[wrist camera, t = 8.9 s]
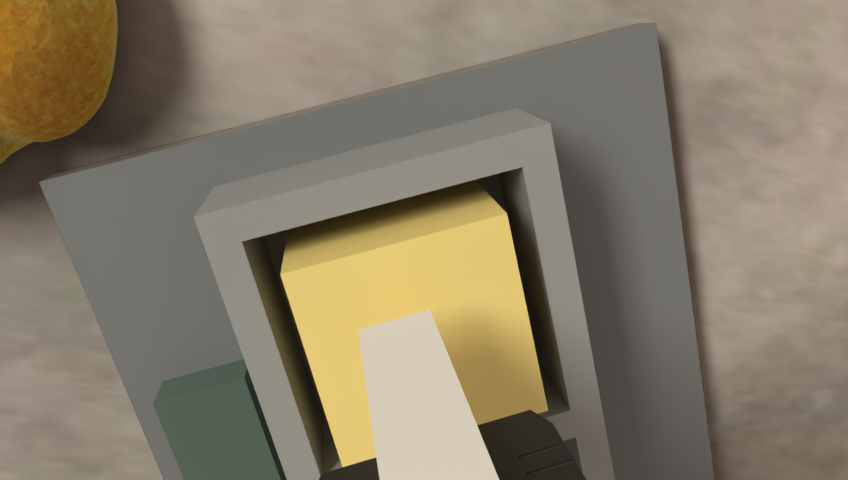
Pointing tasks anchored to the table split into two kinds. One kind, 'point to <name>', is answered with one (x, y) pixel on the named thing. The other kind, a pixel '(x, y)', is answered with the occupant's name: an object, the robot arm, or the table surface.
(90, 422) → the table surface
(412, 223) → the key mustard
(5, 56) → the bread roll
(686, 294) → the grey compartment tray
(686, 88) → the table surface
